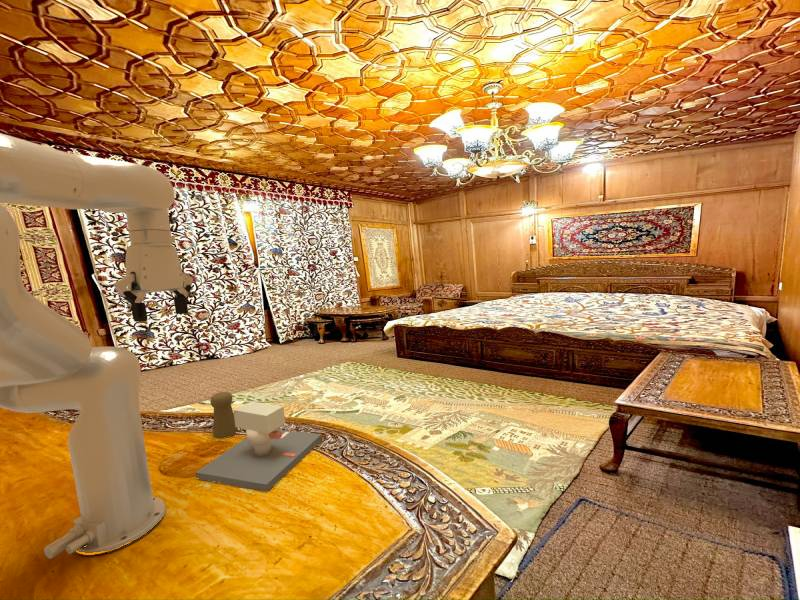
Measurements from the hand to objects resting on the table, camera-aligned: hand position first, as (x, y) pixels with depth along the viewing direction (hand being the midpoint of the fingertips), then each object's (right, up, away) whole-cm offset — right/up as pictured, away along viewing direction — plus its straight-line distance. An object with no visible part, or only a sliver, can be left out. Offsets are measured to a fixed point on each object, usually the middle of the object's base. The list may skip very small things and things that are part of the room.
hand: (162, 317), depth 80 cm
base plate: (+22, -32, +1) cm, 39 cm away
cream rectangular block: (+22, -27, 0) cm, 35 cm away
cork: (+7, -32, +15) cm, 36 cm away
